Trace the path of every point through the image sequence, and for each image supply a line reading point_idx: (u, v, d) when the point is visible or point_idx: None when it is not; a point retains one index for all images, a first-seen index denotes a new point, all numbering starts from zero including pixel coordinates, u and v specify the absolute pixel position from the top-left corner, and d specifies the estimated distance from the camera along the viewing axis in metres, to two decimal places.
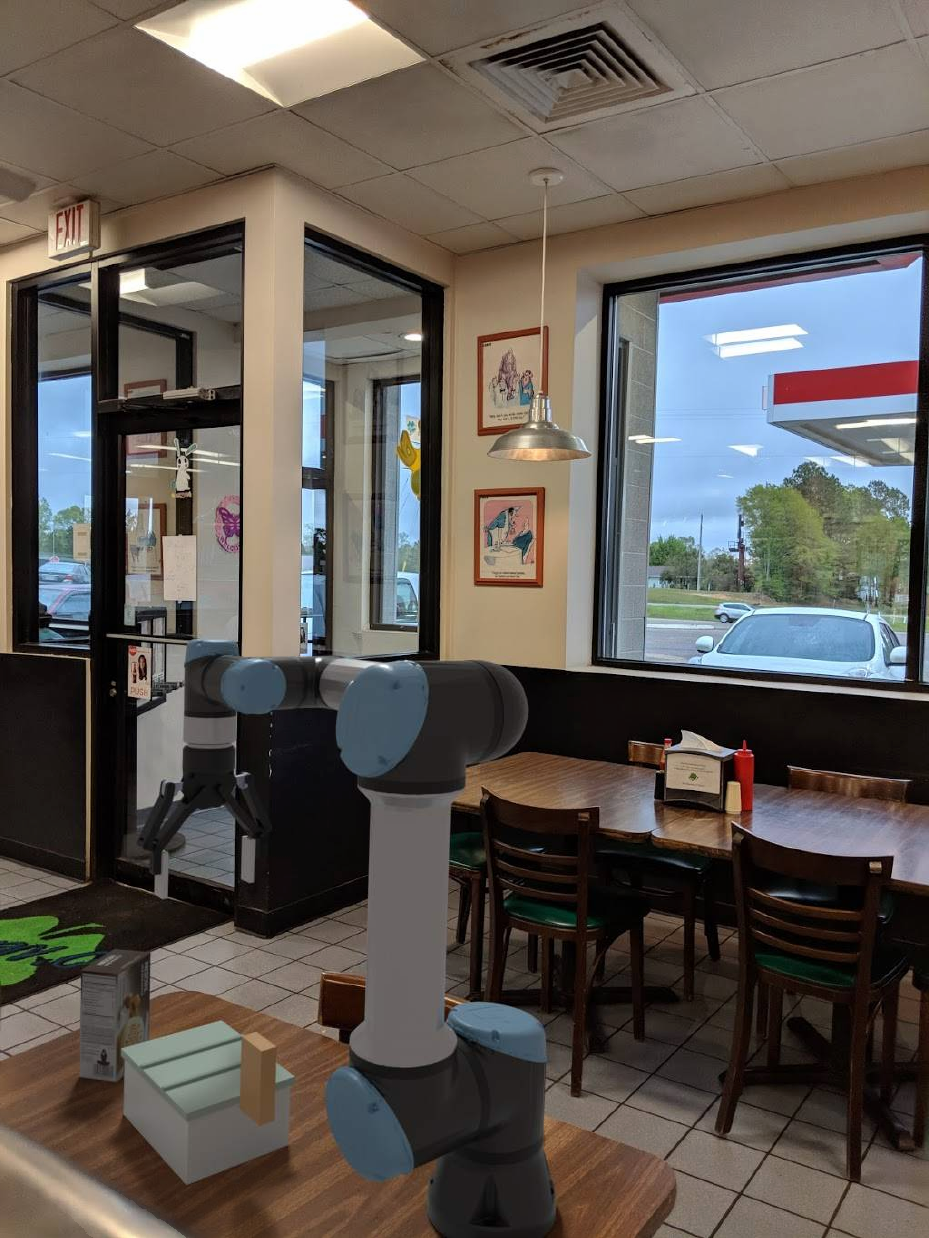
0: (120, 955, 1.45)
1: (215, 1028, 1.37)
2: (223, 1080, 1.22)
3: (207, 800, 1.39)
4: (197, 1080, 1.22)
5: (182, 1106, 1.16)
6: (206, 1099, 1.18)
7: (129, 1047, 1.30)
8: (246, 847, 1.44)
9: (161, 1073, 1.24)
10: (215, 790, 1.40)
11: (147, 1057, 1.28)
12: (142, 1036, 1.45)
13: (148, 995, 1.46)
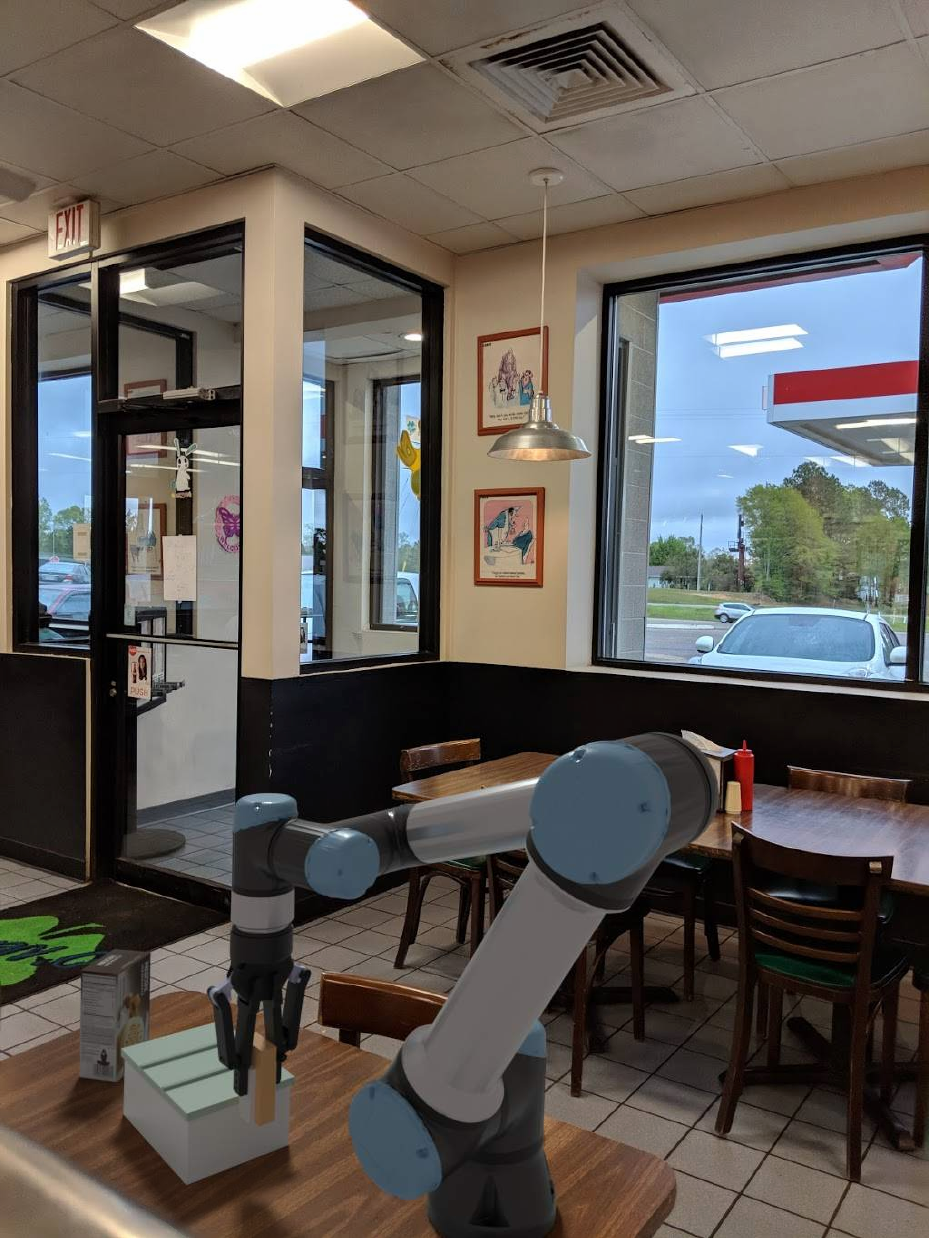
0: (120, 955, 1.45)
1: None
2: (223, 1080, 1.22)
3: None
4: (197, 1080, 1.22)
5: (182, 1106, 1.16)
6: (206, 1099, 1.18)
7: (129, 1047, 1.30)
8: None
9: (161, 1073, 1.24)
10: (269, 975, 1.16)
11: (147, 1057, 1.28)
12: (142, 1036, 1.45)
13: (148, 995, 1.46)
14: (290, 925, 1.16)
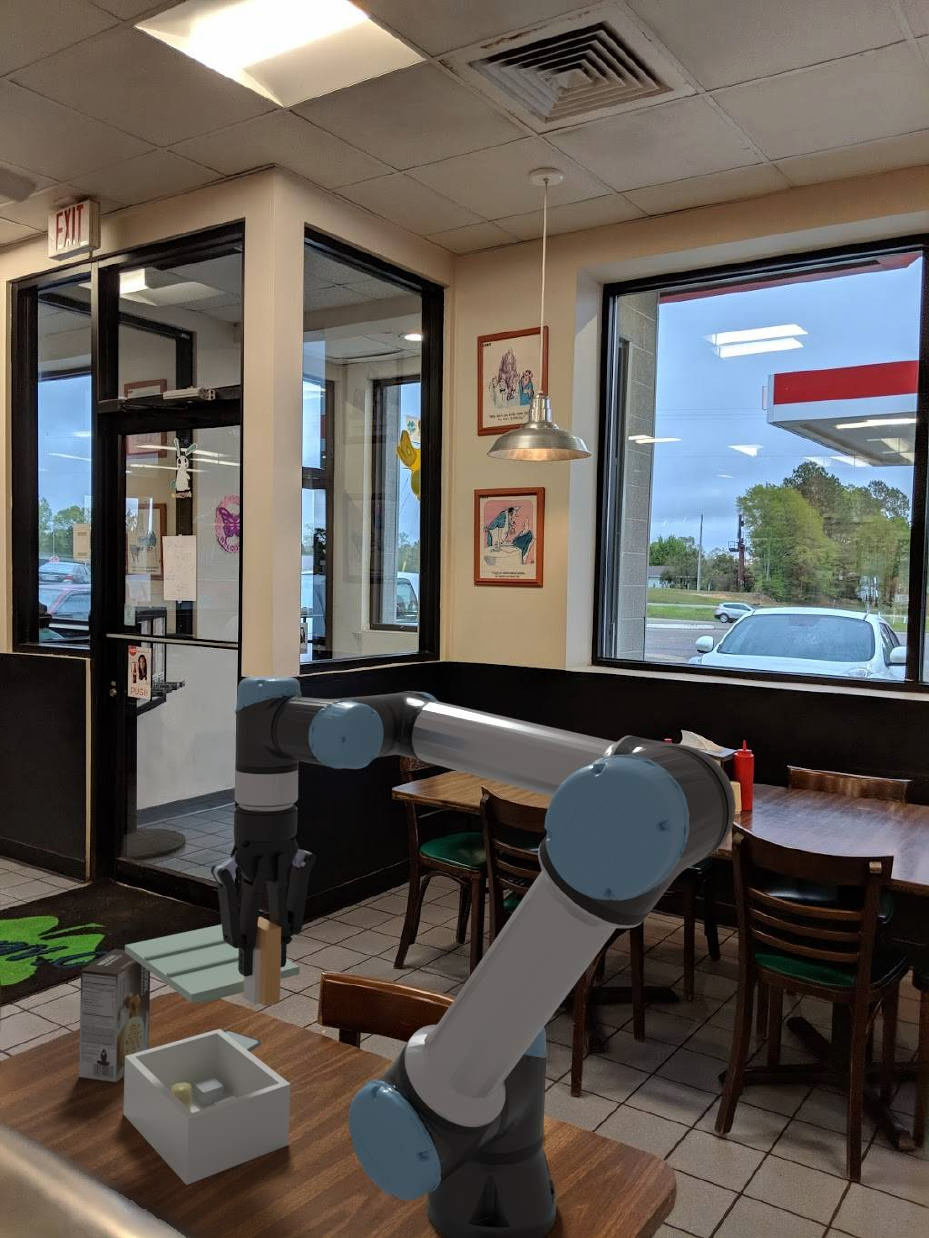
0: (120, 955, 1.45)
1: (219, 929, 1.37)
2: (228, 969, 1.22)
3: None
4: (201, 969, 1.22)
5: (187, 989, 1.15)
6: (210, 983, 1.17)
7: (133, 944, 1.30)
8: None
9: (165, 964, 1.23)
10: (273, 856, 1.15)
11: (151, 951, 1.27)
12: (142, 1036, 1.45)
13: (148, 995, 1.46)
14: (294, 806, 1.16)
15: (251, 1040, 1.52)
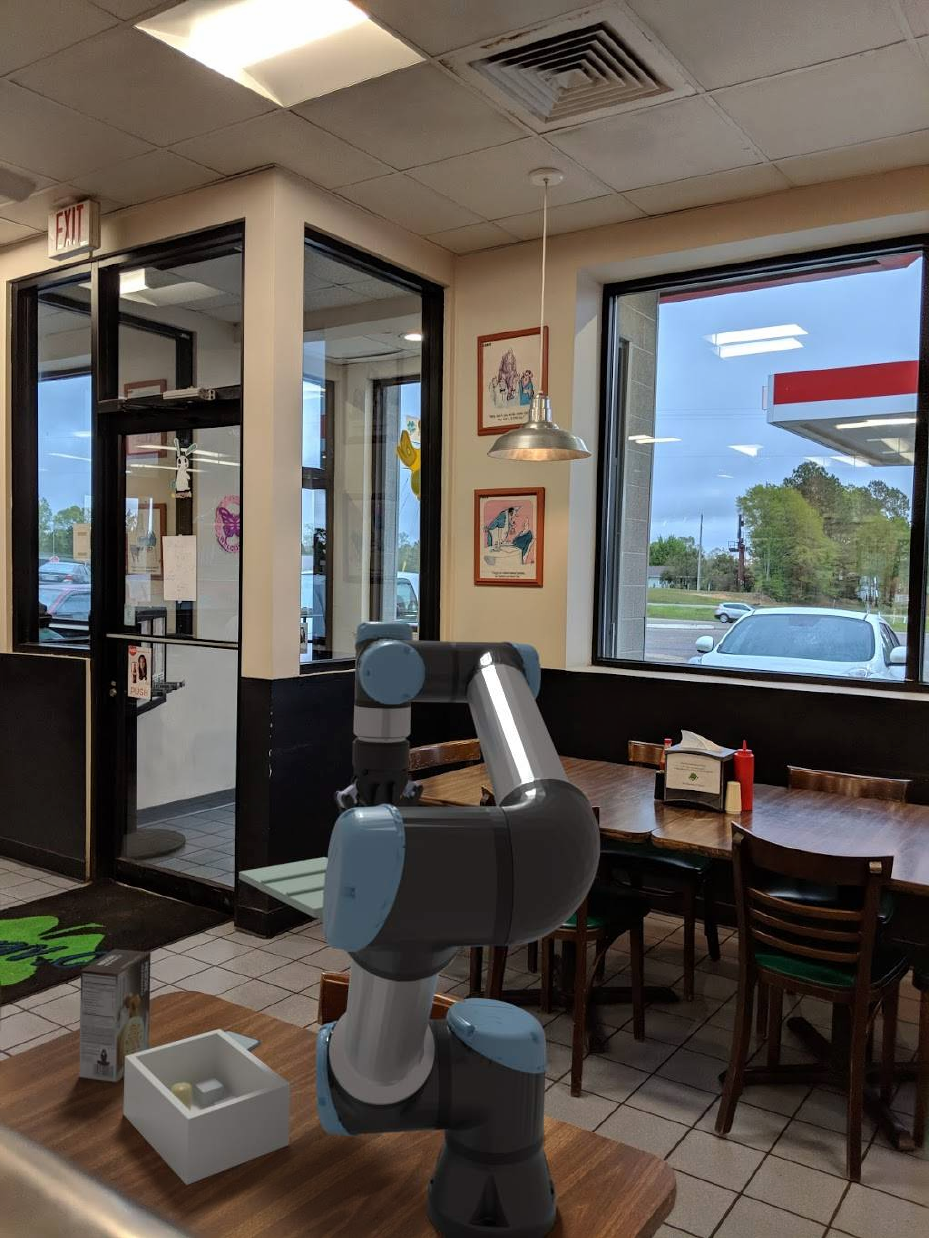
0: (120, 955, 1.45)
1: (321, 861, 1.48)
2: None
3: None
4: (316, 890, 1.33)
5: (308, 905, 1.26)
6: None
7: (246, 871, 1.41)
8: None
9: (281, 886, 1.34)
10: (388, 785, 1.26)
11: (265, 877, 1.39)
12: (142, 1036, 1.45)
13: (148, 995, 1.46)
14: (407, 740, 1.27)
15: (251, 1040, 1.52)
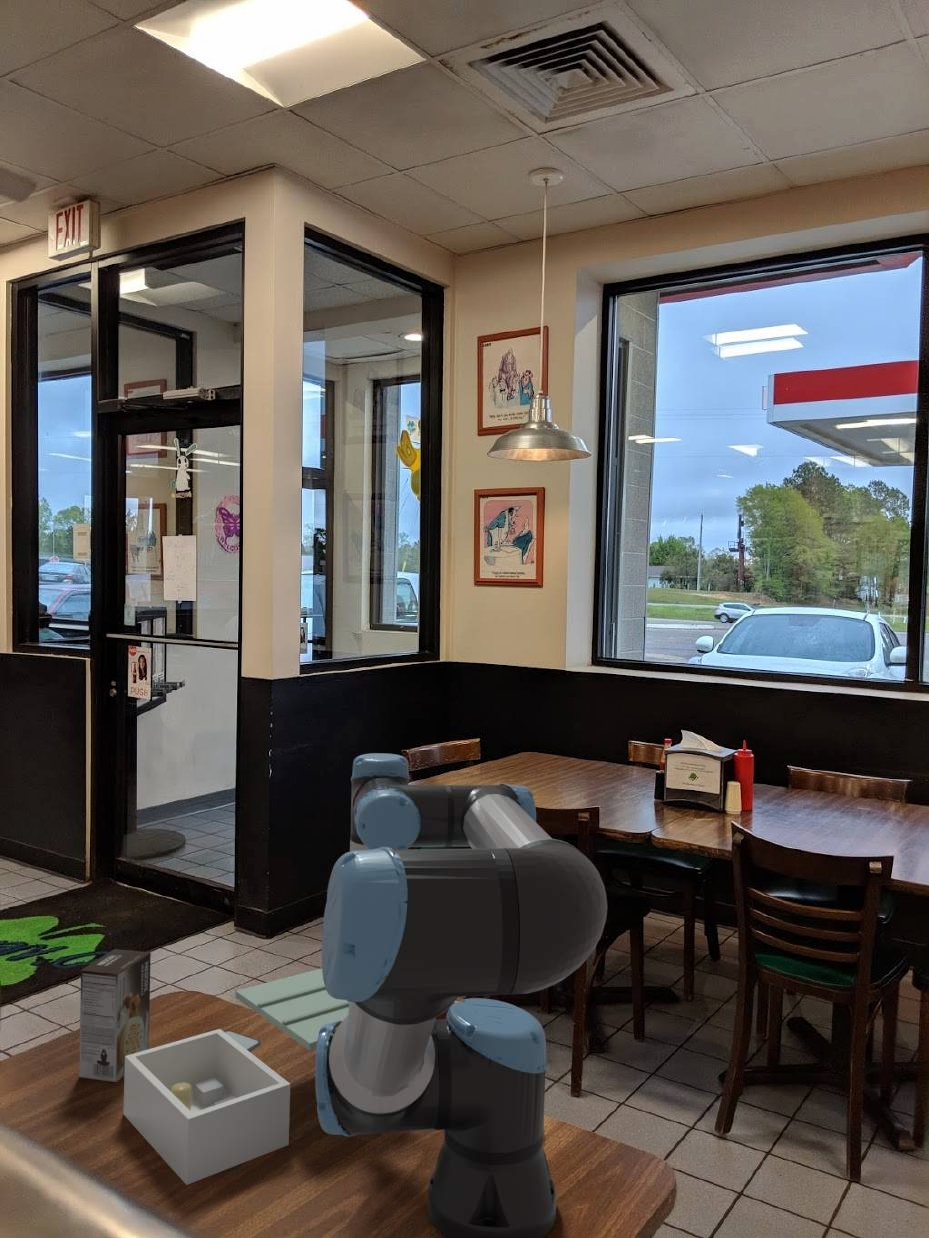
0: (120, 955, 1.45)
1: (317, 975, 1.48)
2: (336, 1017, 1.34)
3: None
4: (312, 1016, 1.33)
5: (304, 1038, 1.27)
6: None
7: (243, 990, 1.42)
8: None
9: (278, 1011, 1.35)
10: None
11: (261, 998, 1.39)
12: (142, 1036, 1.45)
13: (148, 995, 1.46)
14: None
15: (251, 1040, 1.52)
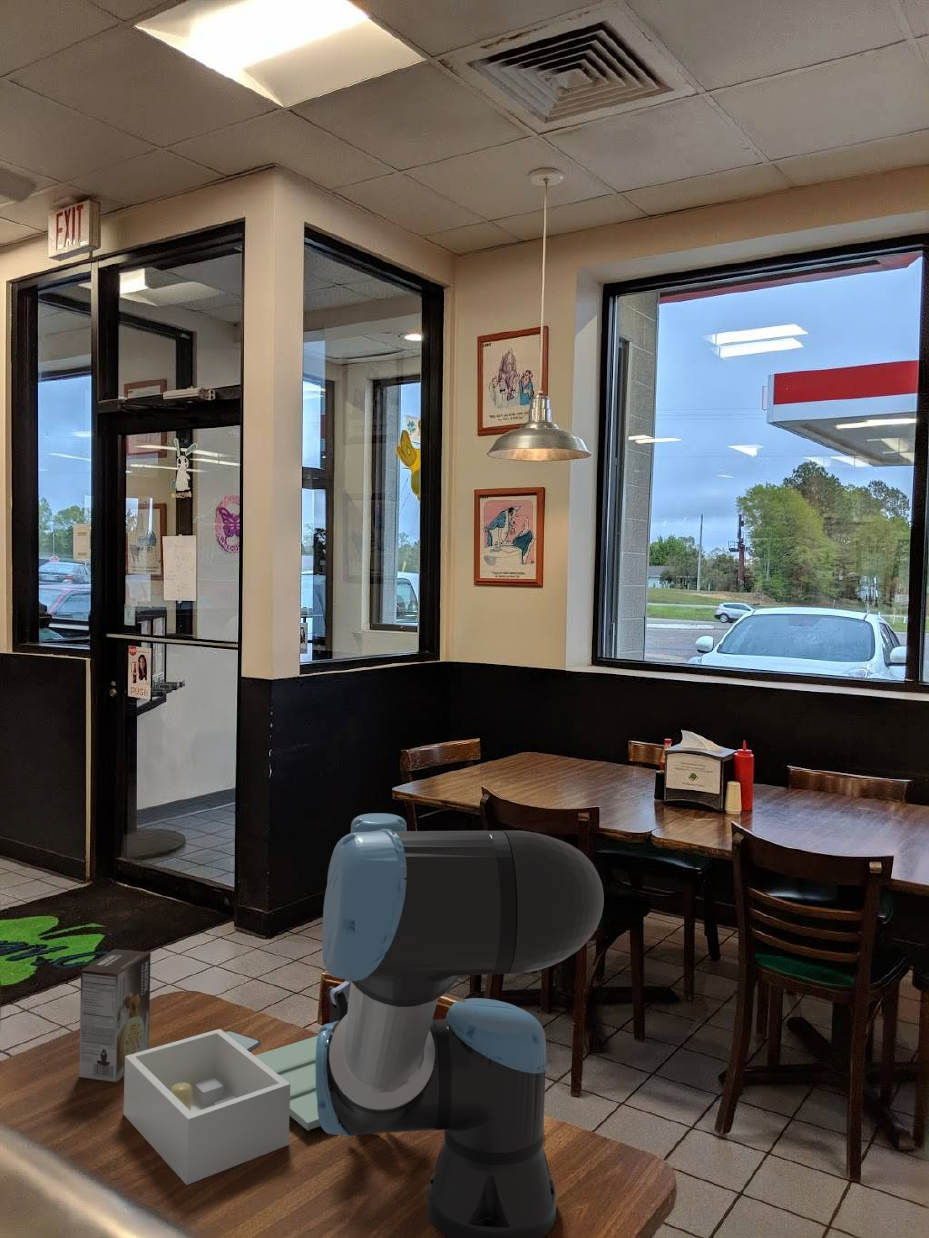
0: (120, 955, 1.45)
1: (316, 1042, 1.48)
2: None
3: None
4: (310, 1091, 1.33)
5: (302, 1116, 1.27)
6: None
7: None
8: None
9: None
10: None
11: None
12: (142, 1036, 1.45)
13: (148, 995, 1.46)
14: None
15: (251, 1040, 1.52)
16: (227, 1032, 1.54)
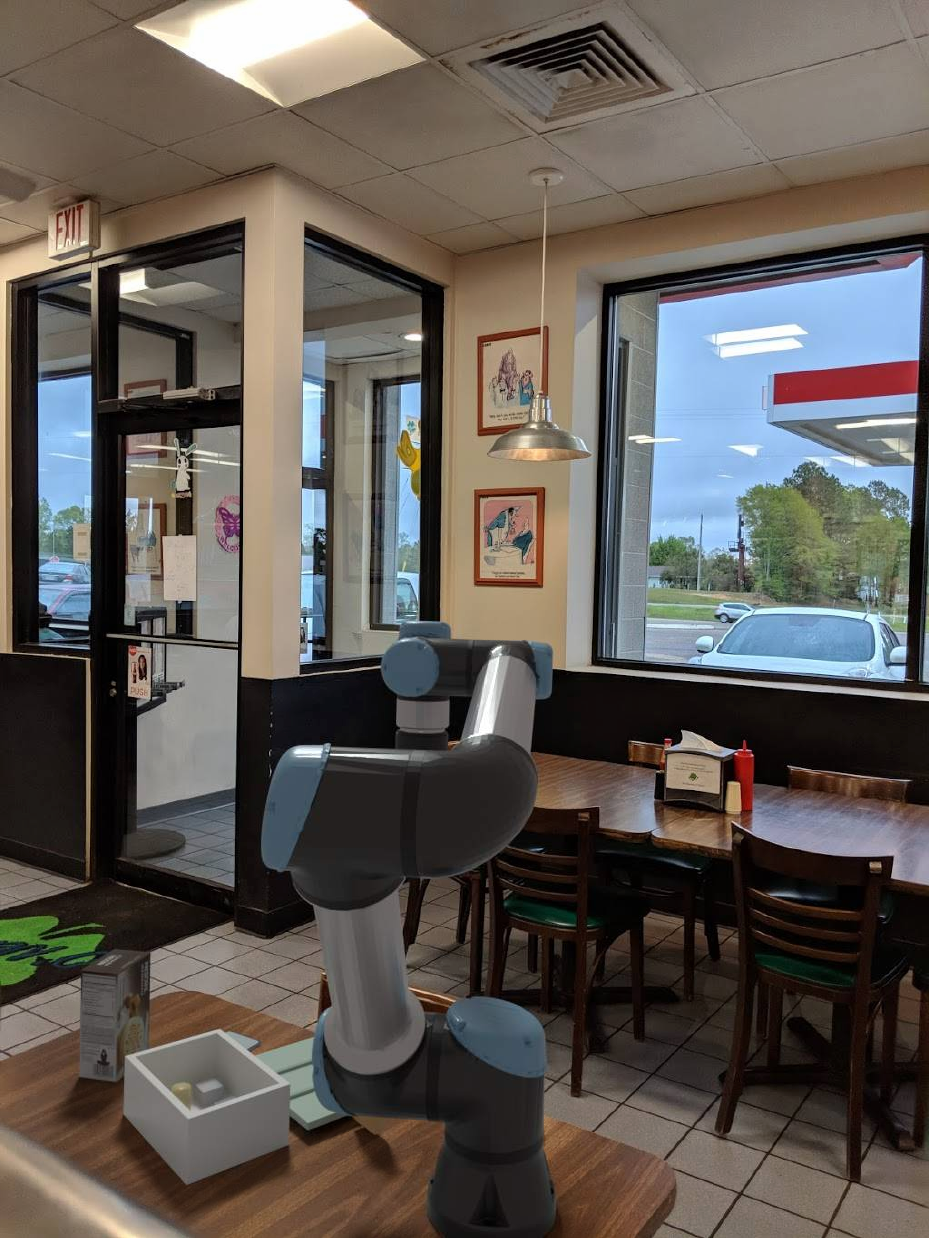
0: (120, 955, 1.45)
1: None
2: None
3: None
4: (310, 1091, 1.33)
5: (302, 1116, 1.27)
6: (322, 1109, 1.29)
7: None
8: None
9: None
10: None
11: None
12: (142, 1036, 1.45)
13: (148, 995, 1.46)
14: (445, 731, 1.37)
15: (251, 1040, 1.52)
16: (227, 1032, 1.54)
